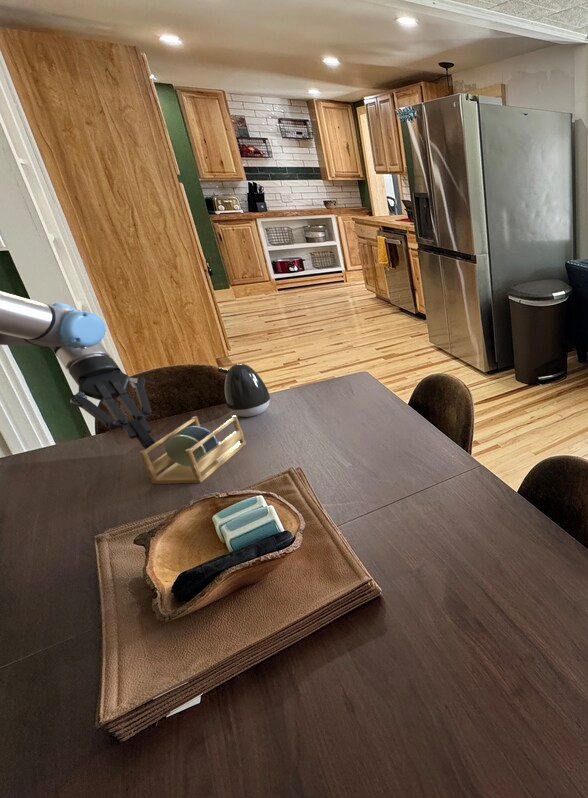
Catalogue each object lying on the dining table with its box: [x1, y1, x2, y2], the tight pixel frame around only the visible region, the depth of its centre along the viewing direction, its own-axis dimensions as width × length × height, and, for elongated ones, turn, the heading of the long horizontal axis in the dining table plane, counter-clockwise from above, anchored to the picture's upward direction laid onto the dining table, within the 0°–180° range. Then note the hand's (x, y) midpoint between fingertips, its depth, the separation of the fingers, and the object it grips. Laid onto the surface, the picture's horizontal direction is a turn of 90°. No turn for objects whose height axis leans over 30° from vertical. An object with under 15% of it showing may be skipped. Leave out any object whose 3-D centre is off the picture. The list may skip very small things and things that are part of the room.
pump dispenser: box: [216, 363, 271, 418], centre depth 134 cm, size 10×10×15 cm
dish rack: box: [139, 414, 247, 485], centre depth 109 cm, size 16×10×9 cm, turn 4°
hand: (150, 446), depth 106 cm, fingers closed
